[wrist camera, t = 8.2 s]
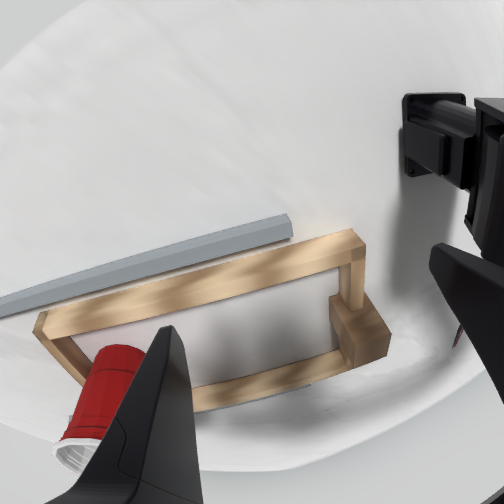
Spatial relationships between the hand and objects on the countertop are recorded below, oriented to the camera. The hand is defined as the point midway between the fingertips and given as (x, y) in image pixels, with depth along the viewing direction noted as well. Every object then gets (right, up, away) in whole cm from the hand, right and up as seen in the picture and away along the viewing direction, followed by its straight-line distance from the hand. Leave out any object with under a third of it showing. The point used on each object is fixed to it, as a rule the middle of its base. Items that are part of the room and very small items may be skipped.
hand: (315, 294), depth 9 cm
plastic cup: (-15, -9, +18) cm, 25 cm away
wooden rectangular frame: (-6, -7, +18) cm, 20 cm away
